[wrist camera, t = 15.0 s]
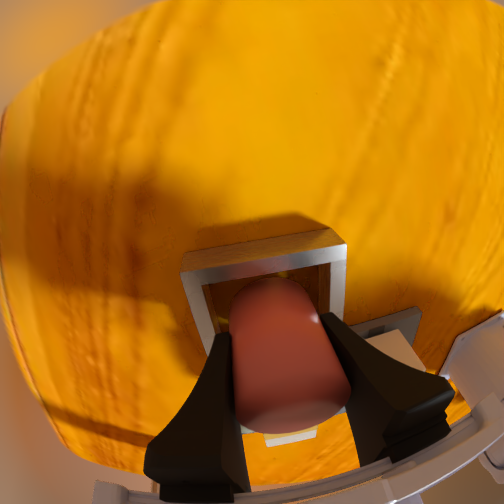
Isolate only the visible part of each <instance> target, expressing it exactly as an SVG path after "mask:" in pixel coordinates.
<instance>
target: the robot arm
mask: <svg viewBox="0 0 504 504" xmlns="http://www.w3.org/2000/svg"><path fill="white" fill-rule="evenodd" d="M320 320H321V323H322V325H323V327H324V329H325V331H326V333H327V335H328V338H329V340H330V342H331V344H332V346H333V348H334V350H335V353H336V355H337V357H338V359H339V361H340V364H341V366H342V368H343V370H344V372H345V375H346V377H347V379H348V381H349V384H350V386H351V395H350V398H349V400H348V402H347V403H346V404H345V410H346V413H347V416H348V419H349V423H350V426H351V430H352V433H353V437H354V441H355V445H356V449H357V453H358V458H359V463H360V468H358V469H355V470H352V471H349V472H345V473H342V474H339V475H335V476H332V477H328V478H325V479H321V480H317V481H313V482H309V483H305V484H300V485H295V486H290V487H284V488H278V489H272V490H266V491H258V492H251V487H250V482H249V476H248V471H247V465H246V459H245V453H244V447H243V440H242V433H241V425H240V423H239V422H238V420H237V418H236V414H235V402H234V390H233V377H232V360H231V341H230V333H229V332H224V333H217V334H216V335H215V336H214V340H213V343H212V347H211V350H210V353H209V356H208V358H207V361H206V363H205V366H204V368H203V370H202V372H201V374H200V377H199V379H198V381H197V383H196V385H195V386H194V388H193V390H192V392H191V393H190V395H189V397H188V398H187V400H186V401H185V403H184V404H183V406H182V407H181V409H180V410H179V411H178V413H177V414H176V415H175V416H174V418H173V419H172V420H171V421H170V422H169V424H168V425H167V426H166V427H165V428H164V429H163V430H162V431H161V432H160V433H159V434H158V435H157V436H156V437H155V438H154V439H153V440H152V441H151V442H150V443H149V444H148V446H147V450H146V453H145V459H144V469H143V471H144V474H145V475H146V476H147V477H149V478H150V479H152V480H153V481H155V482H156V483H158V484H160V490H159V493H149V492H141V491H134V490H128V489H127V488H125V487H124V486H121V485H118V484H114V483H109V482H104V481H99V480H96V481H95V485H94V492H93V500H92V504H282V503H288V502H294V501H299V500H304V499H308V498H312V497H316V496H320V495H324V494H328V493H332V492H335V491H338V490H342V489H345V488H348V487H351V486H354V485H357V484H360V483H363V482H366V481H368V480H371V479H374V478H376V477H379V476H381V475H383V476H382V477H381V478H382V479H378V480H375V481H372V482H369V483H367V484H363V485H361V486H358V487H355V488H352V489H349V490H346V491H342V492H339V493H336V494H333V495H329V496H325V497H321V498H317V499H313V500H309V501H305V502H301V503H297V504H423V502H422V499H421V497H420V493H422V492H424V491H426V490H428V489H429V488H431V487H433V486H435V485H436V484H438V483H440V482H441V481H443V480H445V479H446V478H448V477H449V476H451V475H452V474H454V473H455V472H457V471H458V470H460V469H461V468H463V467H464V466H465V465H467V464H468V463H470V462H471V461H472V460H474V459H475V458H476V457H478V459H479V461H480V462H481V464H482V465H483V467H484V468H486V469H487V470H488V471H489V472H490V473H491V475H492V476H493V478H494V480H495V481H496V482H497V483H498V484H504V310H503V311H501V312H500V313H498V314H496V315H495V316H493V317H491V318H490V319H488V320H486V321H485V322H483V323H481V324H479V325H477V326H476V327H474V328H472V329H470V330H468V331H466V332H464V333H462V334H460V335H459V336H458V337H457V338H456V339H455V341H454V344H453V346H452V348H451V350H450V353H449V355H448V357H447V359H446V361H445V363H444V365H443V367H442V369H441V371H440V373H439V375H434V374H430V373H427V372H424V371H421V370H418V369H415V368H413V367H410V366H408V365H406V364H404V363H402V362H399V361H397V360H395V359H393V358H391V357H390V356H388V355H386V354H385V353H383V352H381V351H380V350H378V349H377V348H375V347H374V346H372V345H371V344H370V343H368V342H367V341H366V340H364V339H363V338H362V337H360V336H359V335H358V334H357V333H355V332H354V331H353V330H352V329H351V328H350V327H348V326H347V325H346V324H345V323H344V322H343V321H342V320H341V319H339V318H338V317H337V316H336V315H335V314H334V313H333V312H328V313H324V314H320ZM449 378H451V380H452V381H453V383H454V384H455V386H456V387H457V389H458V390H459V392H460V393H461V395H462V396H463V398H464V399H465V401H466V402H467V404H468V405H469V407H470V408H471V412H470V413H468V414H467V415H465V416H464V417H462V418H461V419H459V420H458V421H456V422H454V423H453V424H451V425H450V426H449V425H448V423H447V421H446V420H445V419H446V418H447V414H446V413H445V409H446V408H447V407H448V405H449V404H450V402H451V401H452V399H453V398H454V394H455V391H454V390H453V388H452V386H451V385H450V383H449V382H448V381H447V379H449Z"/></svg>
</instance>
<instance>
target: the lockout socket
mask: <svg viewBox="0 0 504 504" xmlns="http://www.w3.org/2000/svg"><path fill="white" fill-rule="evenodd" d="M346 251H347V244H346V243H345V241H344V240H343V239H342V238H341V237H340V236H339V235H338V234H337V233H336V232H335V231H334V230H333V229H332V228H328V229H322V230H316V231H309V232H303V233H297V234H291V235H285V236H279V237H273V238H268V239H262V240H256V241H250V242H244V243H238V244H232V245H227V246H221V247H215V248H210V249H204V250H198V251H193V252H187V253H184V256H183V260H182V264H181V268H180V272H179V273H180V277H181V280H182V283H183V286H184V290H185V293H186V296H187V299H188V302H189V305H190V308H191V311H192V314H193V317H194V320H195V323H196V326H197V329H198V332H199V335H200V337H201V340H202V343H203V346H204V348H205V351H206V354H207V357H208V356H209V353H210V350H211V347H212V343H213V340H214V336H215V335H216V334H217V333H221V329H220V326H219V322H218V319H217V315H216V312H215V308H214V304H213V300H212V297H211V293H210V289H209V285H208V284H212V283H218V282H224V281H230V280H235V279H241V278H247V277H253V276H259V275H264V274H270V273H275V272H281V271H286V270H292V269H297V268H303V267H308V266H313V265H318V316H319V318H320V314H324V313H328V312H333V313H334V314H335V315H336V316H337V317H338V318H339V319H341V320H342V321H343V312H344V298H345V280H346Z"/></svg>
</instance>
